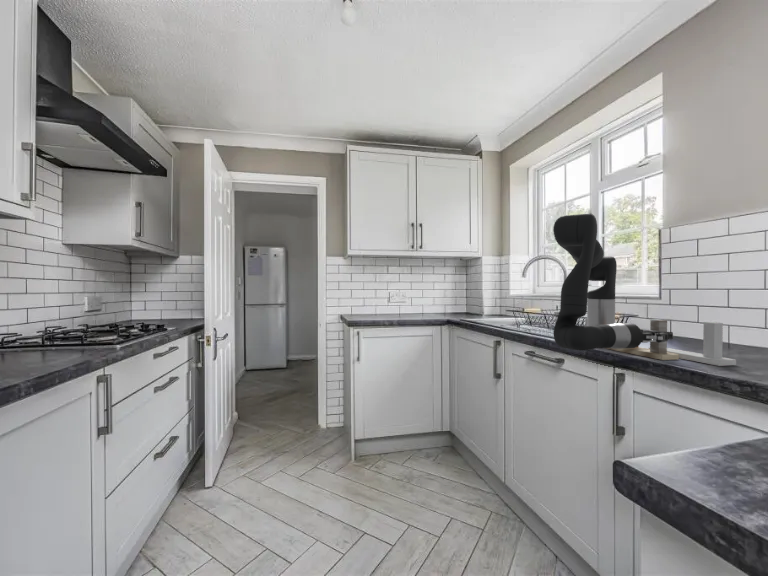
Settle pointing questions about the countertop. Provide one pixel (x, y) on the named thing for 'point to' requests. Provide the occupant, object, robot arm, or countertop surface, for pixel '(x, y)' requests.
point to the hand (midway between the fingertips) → (666, 334)
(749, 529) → the countertop surface
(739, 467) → the countertop surface
